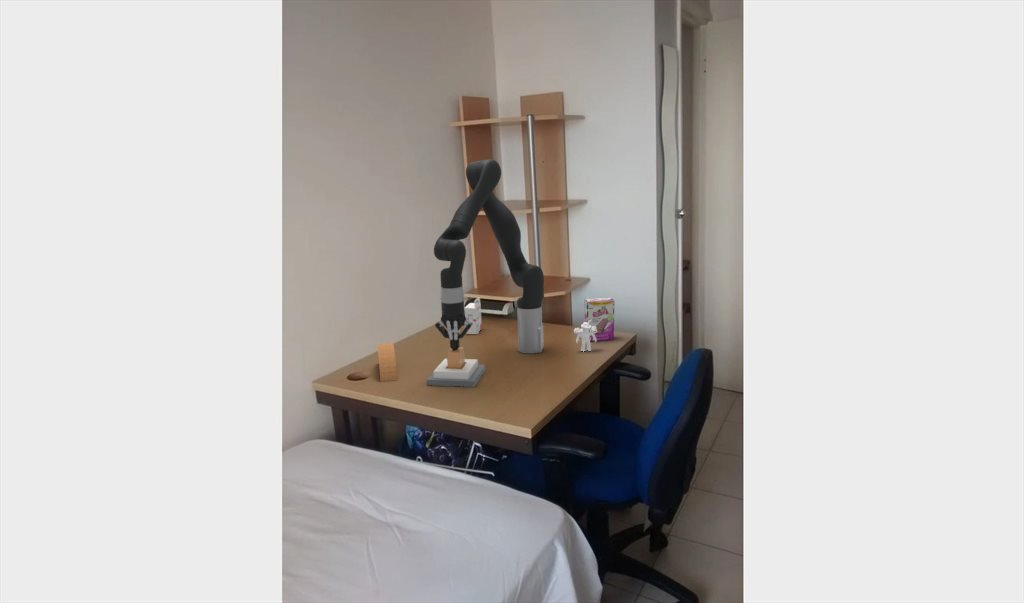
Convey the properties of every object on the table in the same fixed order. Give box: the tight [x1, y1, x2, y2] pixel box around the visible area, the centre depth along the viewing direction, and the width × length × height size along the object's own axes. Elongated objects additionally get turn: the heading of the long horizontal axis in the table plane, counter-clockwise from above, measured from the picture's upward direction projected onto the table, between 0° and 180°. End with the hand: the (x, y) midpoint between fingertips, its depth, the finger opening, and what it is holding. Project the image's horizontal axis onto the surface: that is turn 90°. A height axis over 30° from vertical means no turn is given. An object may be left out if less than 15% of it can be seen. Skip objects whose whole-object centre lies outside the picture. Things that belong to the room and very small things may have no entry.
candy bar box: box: [583, 297, 615, 342], centre depth 252 cm, size 11×5×16 cm, turn 98°
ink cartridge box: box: [464, 296, 483, 335], centre depth 269 cm, size 9×5×15 cm, turn 168°
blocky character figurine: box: [573, 319, 598, 353], centre depth 239 cm, size 9×4×12 cm, turn 102°
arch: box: [377, 342, 398, 382], centre depth 225 cm, size 6×20×10 cm, turn 12°
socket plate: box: [426, 357, 486, 388], centre depth 217 cm, size 16×16×4 cm
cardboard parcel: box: [446, 346, 466, 369], centre depth 216 cm, size 4×6×8 cm
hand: (455, 349), depth 215 cm, fingers closed
